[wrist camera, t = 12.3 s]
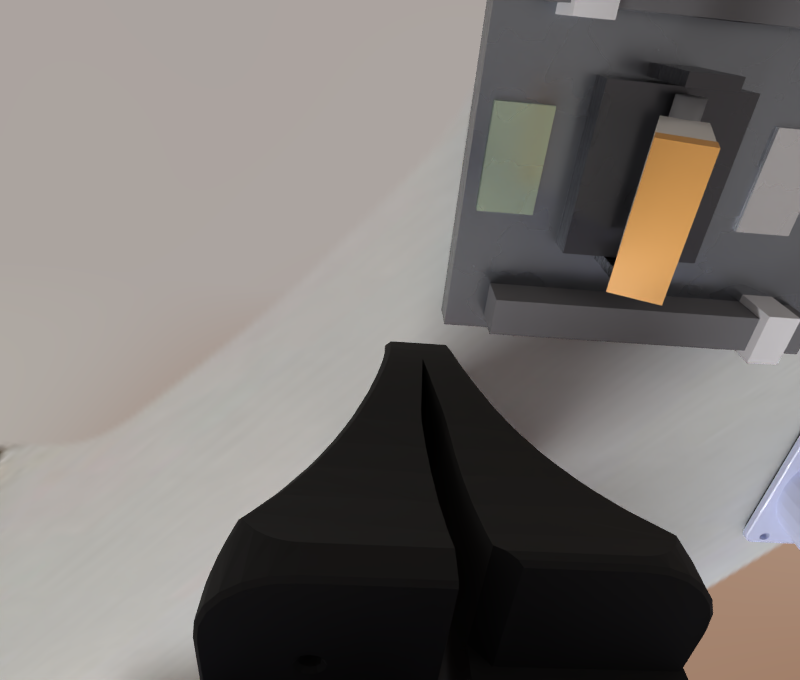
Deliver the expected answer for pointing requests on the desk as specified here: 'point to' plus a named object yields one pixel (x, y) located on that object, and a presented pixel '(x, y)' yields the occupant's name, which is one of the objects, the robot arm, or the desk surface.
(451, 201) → the desk surface
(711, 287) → the breaker panel
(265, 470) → the desk surface
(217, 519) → the desk surface
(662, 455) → the desk surface
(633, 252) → the lever
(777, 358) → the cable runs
